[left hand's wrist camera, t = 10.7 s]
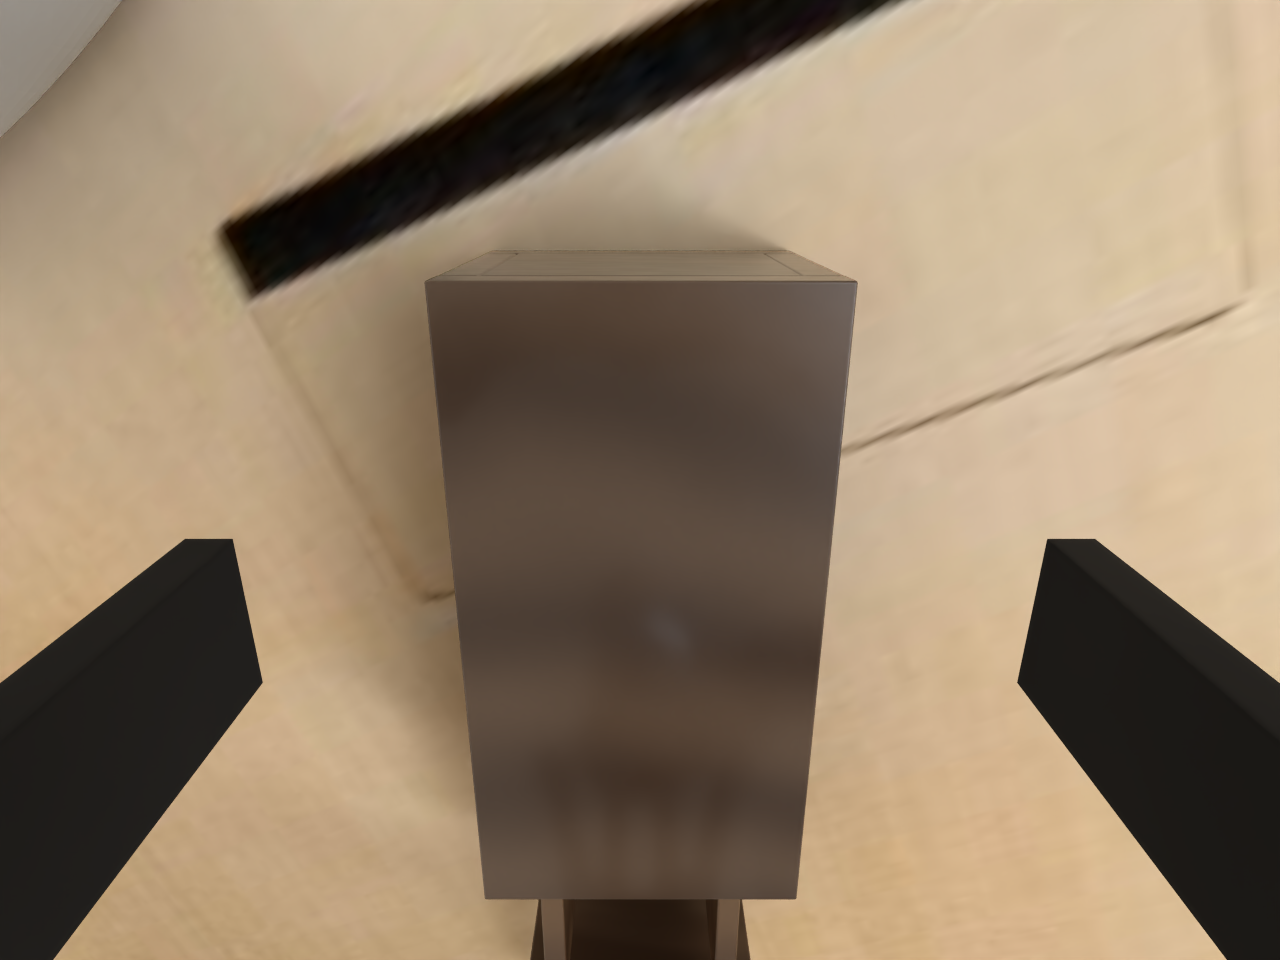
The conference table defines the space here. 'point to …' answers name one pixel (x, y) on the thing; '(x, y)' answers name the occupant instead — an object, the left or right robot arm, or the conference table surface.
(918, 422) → the conference table surface
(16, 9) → the projector
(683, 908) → the drawer
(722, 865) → the cabinet
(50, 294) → the conference table surface
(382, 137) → the conference table surface
